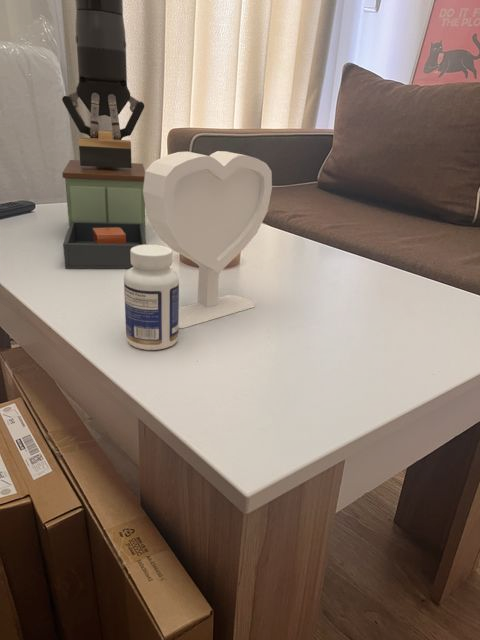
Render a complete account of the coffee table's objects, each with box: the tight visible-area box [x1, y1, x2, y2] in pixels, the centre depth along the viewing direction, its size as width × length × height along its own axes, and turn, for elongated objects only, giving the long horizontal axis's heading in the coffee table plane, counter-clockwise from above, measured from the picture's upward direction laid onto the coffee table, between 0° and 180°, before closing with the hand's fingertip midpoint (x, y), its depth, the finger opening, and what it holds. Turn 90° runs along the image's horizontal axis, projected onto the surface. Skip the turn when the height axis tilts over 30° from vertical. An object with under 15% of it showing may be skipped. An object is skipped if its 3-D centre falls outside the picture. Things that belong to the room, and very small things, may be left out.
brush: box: [78, 128, 133, 168], centre depth 88 cm, size 9×8×5 cm
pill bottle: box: [123, 244, 180, 351], centre depth 53 cm, size 5×5×10 cm
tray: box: [62, 221, 148, 270], centre depth 79 cm, size 11×13×4 cm
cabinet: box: [62, 159, 147, 238], centre depth 90 cm, size 13×15×11 cm
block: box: [93, 227, 126, 244], centre depth 77 cm, size 4×4×4 cm
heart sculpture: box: [143, 150, 273, 329], centre depth 60 cm, size 16×5×18 cm, turn 136°
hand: (107, 160), depth 91 cm, fingers closed on brush
